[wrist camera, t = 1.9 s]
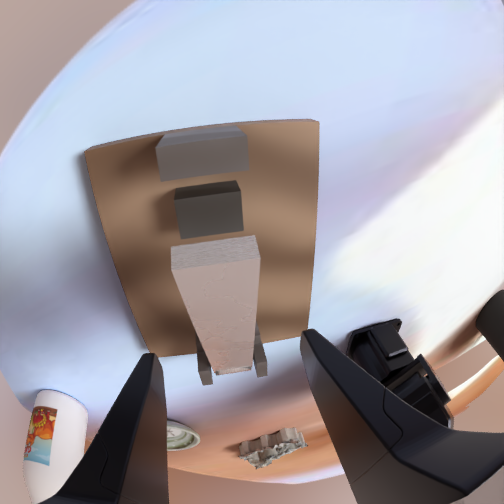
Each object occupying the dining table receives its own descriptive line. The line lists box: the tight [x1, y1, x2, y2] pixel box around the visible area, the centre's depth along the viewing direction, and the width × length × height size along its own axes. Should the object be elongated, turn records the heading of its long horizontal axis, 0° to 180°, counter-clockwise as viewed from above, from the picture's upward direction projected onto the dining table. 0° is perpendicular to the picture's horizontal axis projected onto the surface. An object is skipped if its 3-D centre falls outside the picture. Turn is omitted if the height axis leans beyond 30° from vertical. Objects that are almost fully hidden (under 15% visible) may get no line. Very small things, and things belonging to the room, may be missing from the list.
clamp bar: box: [171, 235, 261, 375], centre depth 16 cm, size 16×3×1 cm, turn 3°
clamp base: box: [84, 119, 319, 385], centre depth 19 cm, size 18×14×6 cm
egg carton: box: [239, 427, 308, 469], centre depth 40 cm, size 11×8×4 cm
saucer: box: [167, 420, 200, 451], centre depth 33 cm, size 10×10×2 cm
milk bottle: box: [23, 390, 88, 504], centre depth 21 cm, size 8×8×20 cm
